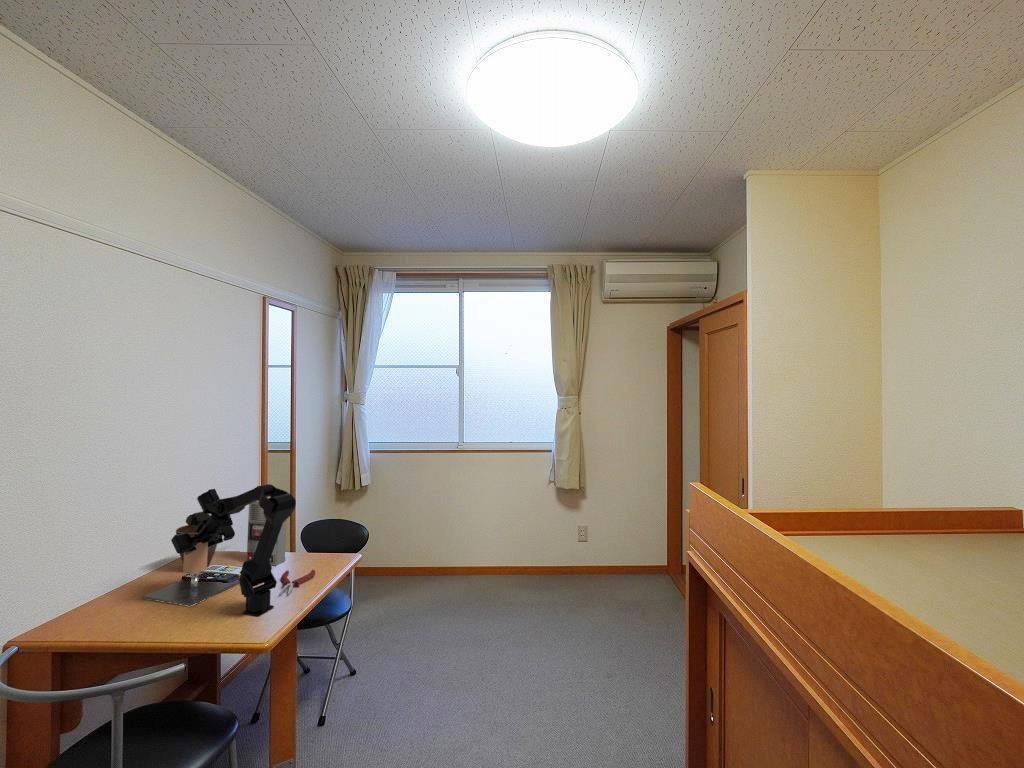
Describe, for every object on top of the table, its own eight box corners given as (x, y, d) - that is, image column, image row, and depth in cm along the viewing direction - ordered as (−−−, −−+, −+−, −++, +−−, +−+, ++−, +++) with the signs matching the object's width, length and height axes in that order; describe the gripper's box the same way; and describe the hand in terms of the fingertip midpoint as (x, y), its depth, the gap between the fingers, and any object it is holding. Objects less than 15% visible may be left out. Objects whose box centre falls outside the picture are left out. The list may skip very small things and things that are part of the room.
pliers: (265, 599, 153) (265, 591, 153) (284, 576, 173) (285, 569, 173) (301, 597, 155) (301, 590, 155) (316, 575, 175) (316, 568, 175)
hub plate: (241, 582, 165) (241, 567, 165) (190, 607, 145) (190, 590, 146) (197, 576, 170) (198, 561, 170) (142, 599, 150) (143, 582, 150)
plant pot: (197, 560, 186) (199, 521, 187) (229, 563, 184) (230, 523, 184) (163, 573, 172) (165, 531, 172) (197, 577, 169) (199, 534, 170)
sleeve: (206, 569, 159) (208, 538, 159) (191, 574, 154) (193, 542, 155) (198, 567, 161) (199, 536, 161) (183, 572, 156) (184, 540, 157)
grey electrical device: (244, 563, 183) (247, 502, 184) (255, 558, 189) (257, 498, 190) (275, 566, 181) (278, 504, 182) (285, 561, 187) (287, 500, 188)
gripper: (231, 500, 165) (210, 526, 170) (175, 511, 148) (154, 540, 153) (244, 524, 162) (223, 550, 166) (189, 538, 145) (167, 567, 149)
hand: (193, 551), depth 158 cm, fingers closed on sleeve, 5 cm apart
